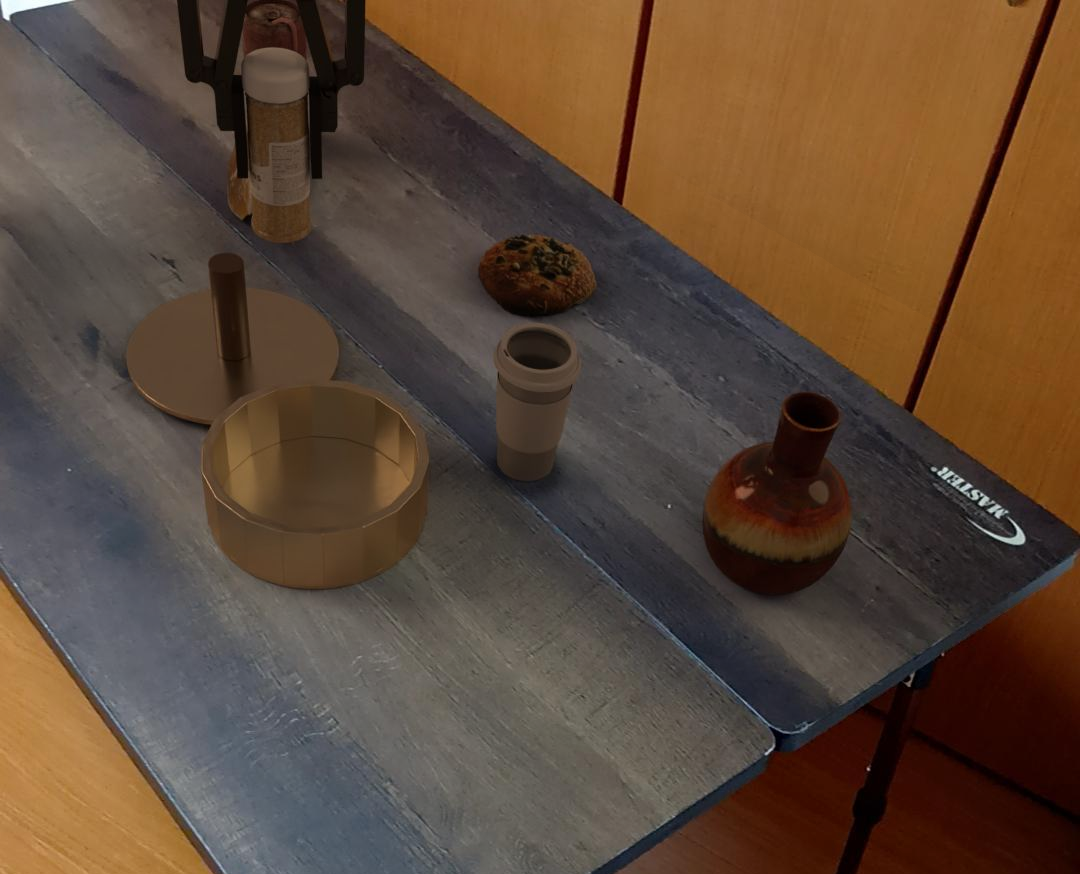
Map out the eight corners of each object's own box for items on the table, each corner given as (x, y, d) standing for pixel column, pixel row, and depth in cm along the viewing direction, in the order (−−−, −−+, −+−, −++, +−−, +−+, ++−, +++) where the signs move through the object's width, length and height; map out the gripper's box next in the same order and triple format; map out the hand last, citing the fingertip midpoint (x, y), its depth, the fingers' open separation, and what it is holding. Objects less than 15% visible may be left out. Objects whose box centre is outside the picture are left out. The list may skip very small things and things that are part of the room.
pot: (208, 598, 95) (201, 542, 91) (207, 438, 106) (201, 382, 102) (437, 583, 98) (440, 528, 94) (413, 429, 110) (415, 374, 105)
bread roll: (476, 314, 120) (482, 264, 117) (475, 257, 129) (481, 209, 126) (596, 325, 122) (605, 277, 118) (587, 268, 130) (596, 221, 127)
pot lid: (123, 436, 106) (105, 335, 98) (131, 300, 117) (115, 201, 110) (346, 426, 109) (345, 328, 102) (332, 295, 121) (330, 199, 113)
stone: (289, 97, 131) (275, 172, 120) (309, 155, 135) (297, 233, 124) (220, 111, 131) (200, 188, 121) (242, 169, 136) (224, 247, 125)
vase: (688, 598, 100) (730, 450, 89) (696, 496, 107) (736, 348, 96) (833, 623, 100) (894, 478, 88) (831, 519, 107) (886, 373, 96)
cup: (472, 440, 109) (481, 325, 101) (547, 426, 111) (562, 312, 103) (501, 499, 105) (513, 384, 96) (578, 483, 107) (597, 369, 98)
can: (284, 164, 134) (278, 32, 124) (237, 141, 136) (227, 10, 126) (323, 140, 138) (320, 11, 128) (276, 119, 140) (269, -11, 130)
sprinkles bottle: (244, 215, 100) (233, 47, 90) (303, 207, 102) (298, 41, 92) (260, 250, 97) (250, 81, 88) (320, 241, 99) (317, 74, 89)
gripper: (106, -159, 75) (152, 197, 92) (417, -144, 78) (405, 198, 95) (114, -208, 80) (156, 139, 97) (406, -191, 83) (397, 141, 100)
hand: (279, 167), depth 96 cm, fingers closed on sprinkles bottle, 4 cm apart
